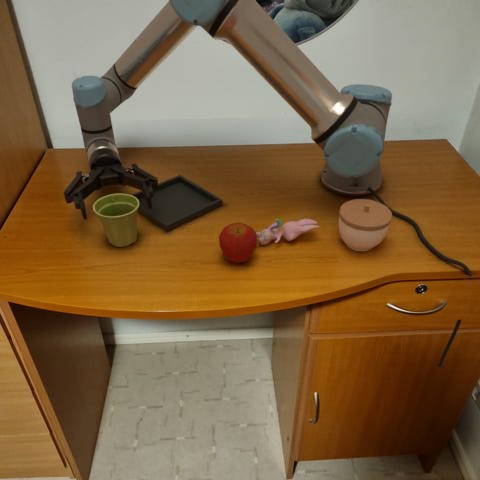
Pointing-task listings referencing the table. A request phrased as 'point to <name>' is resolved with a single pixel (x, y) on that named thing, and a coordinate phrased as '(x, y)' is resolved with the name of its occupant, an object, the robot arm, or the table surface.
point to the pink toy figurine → (285, 230)
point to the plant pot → (118, 218)
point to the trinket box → (363, 223)
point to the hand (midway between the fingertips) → (117, 208)
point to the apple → (238, 242)
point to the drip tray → (177, 203)
